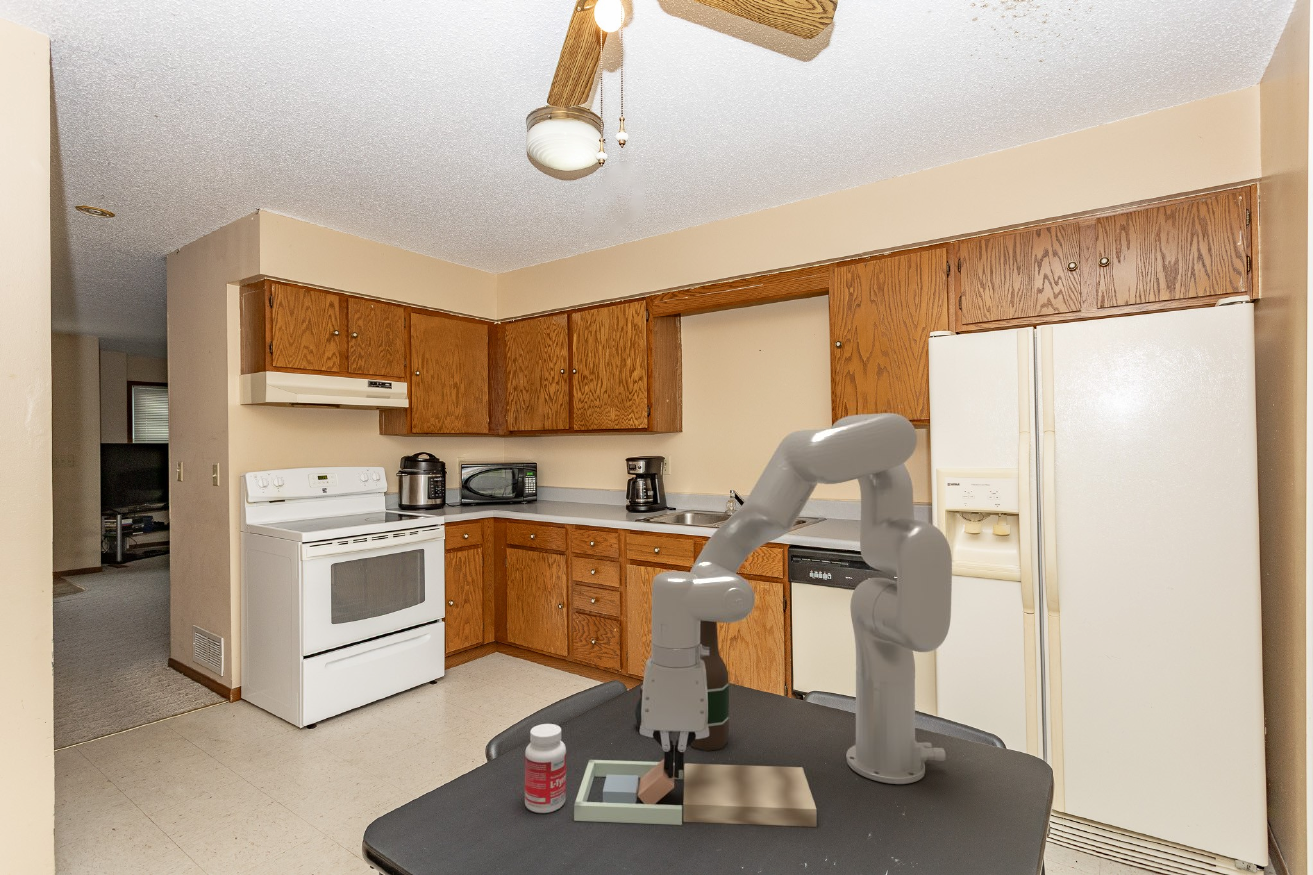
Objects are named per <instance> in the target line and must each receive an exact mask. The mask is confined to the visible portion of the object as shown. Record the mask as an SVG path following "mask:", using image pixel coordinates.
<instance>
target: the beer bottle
mask: <svg viewBox="0 0 1313 875" xmlns="http://www.w3.org/2000/svg"><path fill="white" fill-rule="evenodd" d="M718 638H719V637H718V622H711V621H700V644H702V646H704V647H709V656H704V657H702V659H701V660H703V661H704V663H705V669H706V676H707V693H708V721H707V723H708V727H709V736H708V737H705V738H701V739H695V740H694V741H693V742H692V743H691V744H690V745H691V747H692V748H693V749H697V750H700V751H705V752H709V751H717V750H722V749H723V748H724V747H725V746H726V745H727V743H728V742H729V731H730V730H729V729H730V727H729V726H730V724H729V722H730V720H729V719H730V718H729V717H730V708H729V707H730V693H729V692H730V680H729V670H728V669H727V665H726V663H725V662H724V660H723V658H722V657H721V655H720V649H719V640H718Z"/></svg>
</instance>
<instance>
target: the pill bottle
mask: <svg viewBox="0 0 1313 875" xmlns="http://www.w3.org/2000/svg"><path fill="white" fill-rule="evenodd" d="M529 734H530V735H529V739H530V743H528V745H527V746H526V748H525V752H524V754H525V755H524V804H525V805H524V806H525V807H526V808H527V809H528V810H529V811H531V812H534V813H538V814H549V813H552V812H554V811H557V810H558V809H561V807H563V806H564V804H565V803H566V797H567V796H566V795H567V793H566V792H567V791H566V790H567V788H566V787H567V785H566V784H567V782H566V781H567V780H566V779H567V747H566V744H565V743H564V742H563V741H562V728H561V727H560V726H559V725H558V724H554V723H553V724H552V723H543V724H538V725H536V726H535V725H534V726H533V727H532V728H531V729H530V732H529Z"/></svg>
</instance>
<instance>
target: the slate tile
mask: <svg viewBox="0 0 1313 875" xmlns="http://www.w3.org/2000/svg"><path fill="white" fill-rule="evenodd" d="M604 780H605V781H604V784H603V789H602V803H628V804H637V802H638V791H639V778H638V775H607V776H606V777H605V779H604Z"/></svg>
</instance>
